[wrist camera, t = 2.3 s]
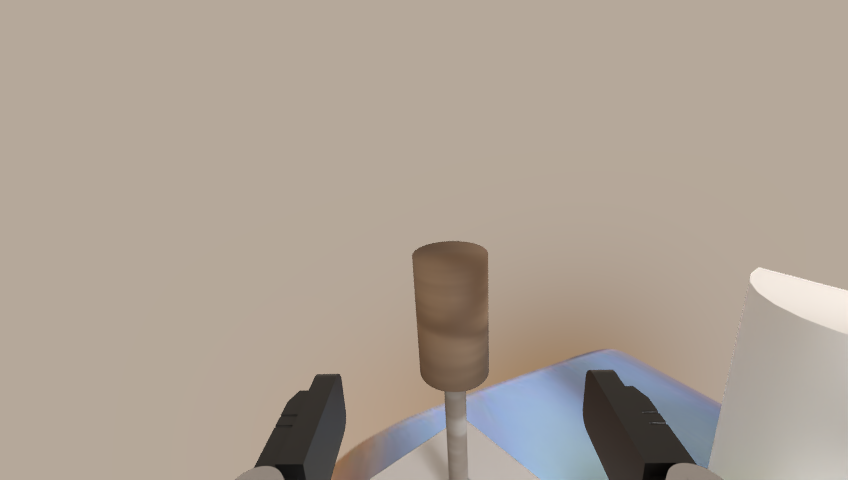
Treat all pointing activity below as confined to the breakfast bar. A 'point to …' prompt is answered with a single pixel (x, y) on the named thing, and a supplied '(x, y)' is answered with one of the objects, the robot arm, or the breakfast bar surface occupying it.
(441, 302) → the plunger
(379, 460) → the breakfast bar surface
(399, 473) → the grey upright block
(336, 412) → the robot arm
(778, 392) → the white stepped oval block
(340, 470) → the breakfast bar surface
